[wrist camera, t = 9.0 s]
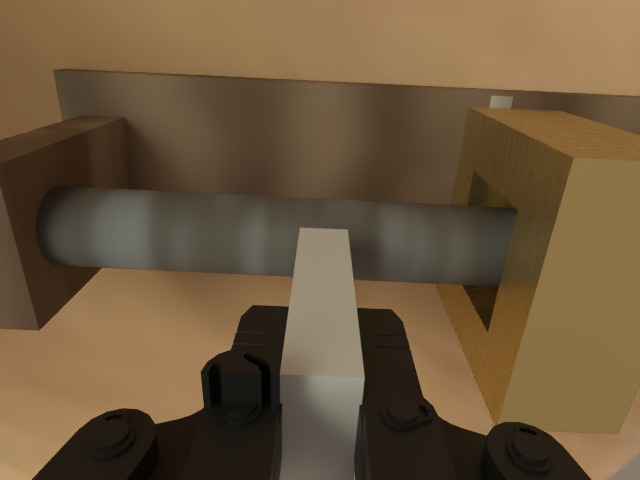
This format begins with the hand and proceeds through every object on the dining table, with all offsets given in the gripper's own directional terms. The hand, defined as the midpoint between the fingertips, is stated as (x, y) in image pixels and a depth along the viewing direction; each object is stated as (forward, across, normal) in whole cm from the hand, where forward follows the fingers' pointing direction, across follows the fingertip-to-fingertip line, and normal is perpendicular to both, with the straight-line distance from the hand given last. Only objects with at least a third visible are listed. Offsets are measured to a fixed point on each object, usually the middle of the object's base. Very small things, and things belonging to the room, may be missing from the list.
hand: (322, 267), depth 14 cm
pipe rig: (+10, +2, 0) cm, 10 cm away
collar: (+7, +8, 0) cm, 11 cm away
